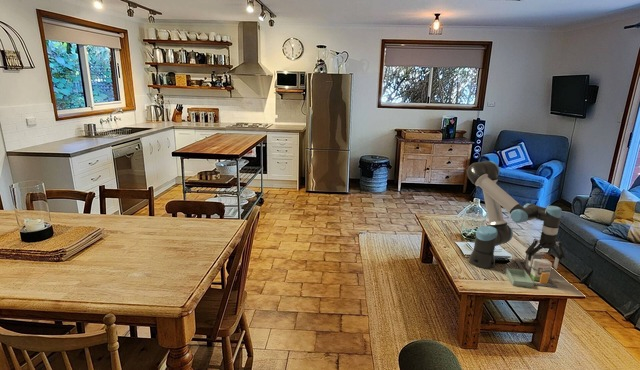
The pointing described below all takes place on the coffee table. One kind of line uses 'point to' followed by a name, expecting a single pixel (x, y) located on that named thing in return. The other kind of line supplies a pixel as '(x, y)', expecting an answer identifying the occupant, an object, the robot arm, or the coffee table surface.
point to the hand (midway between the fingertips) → (542, 266)
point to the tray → (519, 277)
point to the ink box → (540, 268)
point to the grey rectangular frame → (542, 280)
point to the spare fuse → (535, 256)
